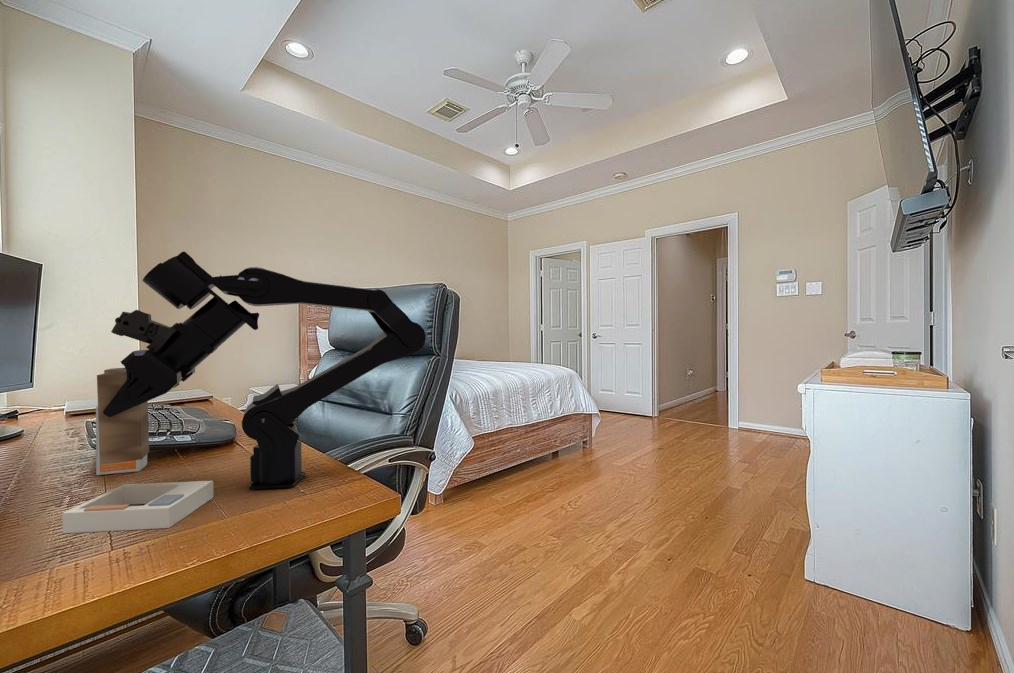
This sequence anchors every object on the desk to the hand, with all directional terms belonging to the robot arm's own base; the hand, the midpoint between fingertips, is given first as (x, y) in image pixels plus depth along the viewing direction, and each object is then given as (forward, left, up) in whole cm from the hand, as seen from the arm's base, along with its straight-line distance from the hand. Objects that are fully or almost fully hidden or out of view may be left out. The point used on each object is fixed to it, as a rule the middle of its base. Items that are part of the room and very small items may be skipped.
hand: (111, 412), depth 61 cm
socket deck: (-6, +3, -13) cm, 15 cm away
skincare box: (+11, -18, -14) cm, 25 cm away
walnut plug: (-1, -1, -7) cm, 7 cm away
